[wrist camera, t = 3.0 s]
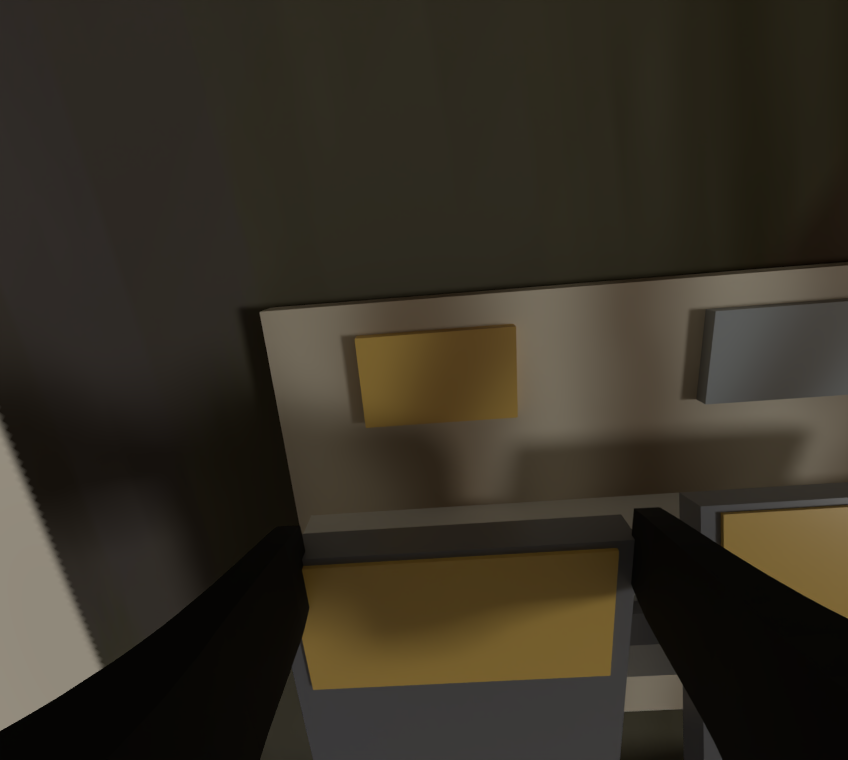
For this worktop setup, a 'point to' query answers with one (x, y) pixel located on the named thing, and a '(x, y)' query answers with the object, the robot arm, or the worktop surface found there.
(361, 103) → the worktop surface
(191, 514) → the worktop surface
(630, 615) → the switch
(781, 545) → the switch
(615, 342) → the base
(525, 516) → the switch housing
